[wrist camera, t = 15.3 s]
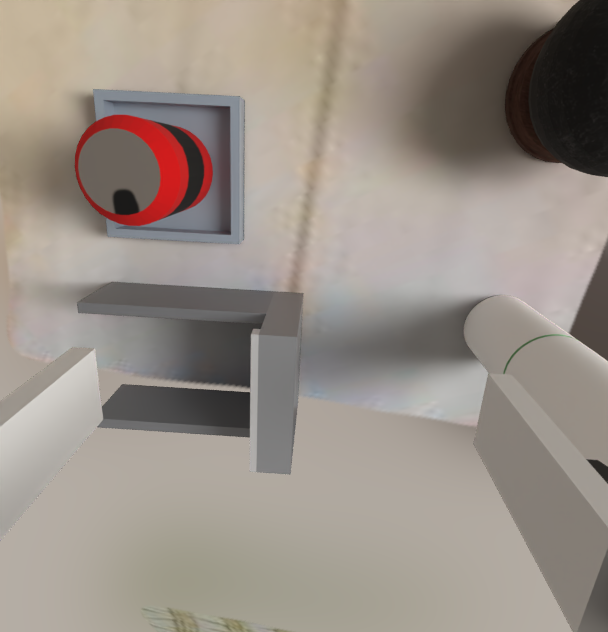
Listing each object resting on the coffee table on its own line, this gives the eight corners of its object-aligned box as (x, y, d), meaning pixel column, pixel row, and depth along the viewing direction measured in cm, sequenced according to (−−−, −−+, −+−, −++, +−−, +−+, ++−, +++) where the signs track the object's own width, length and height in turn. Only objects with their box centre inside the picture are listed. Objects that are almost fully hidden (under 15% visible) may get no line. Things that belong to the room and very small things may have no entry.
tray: (106, 93, 40) (93, 89, 38) (244, 100, 40) (239, 96, 38) (119, 232, 44) (107, 236, 42) (243, 239, 44) (239, 244, 42)
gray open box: (112, 281, 46) (43, 321, 35) (303, 293, 46) (297, 337, 34) (123, 392, 50) (65, 458, 39) (297, 403, 50) (290, 474, 39)
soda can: (143, 214, 43) (80, 233, 32) (125, 130, 40) (50, 118, 29) (219, 206, 42) (183, 223, 31) (206, 121, 40) (162, 106, 29)
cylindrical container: (474, 368, 48) (621, 570, 24) (455, 309, 46) (596, 470, 22) (540, 345, 47) (764, 535, 23) (524, 284, 44) (751, 425, 21)
